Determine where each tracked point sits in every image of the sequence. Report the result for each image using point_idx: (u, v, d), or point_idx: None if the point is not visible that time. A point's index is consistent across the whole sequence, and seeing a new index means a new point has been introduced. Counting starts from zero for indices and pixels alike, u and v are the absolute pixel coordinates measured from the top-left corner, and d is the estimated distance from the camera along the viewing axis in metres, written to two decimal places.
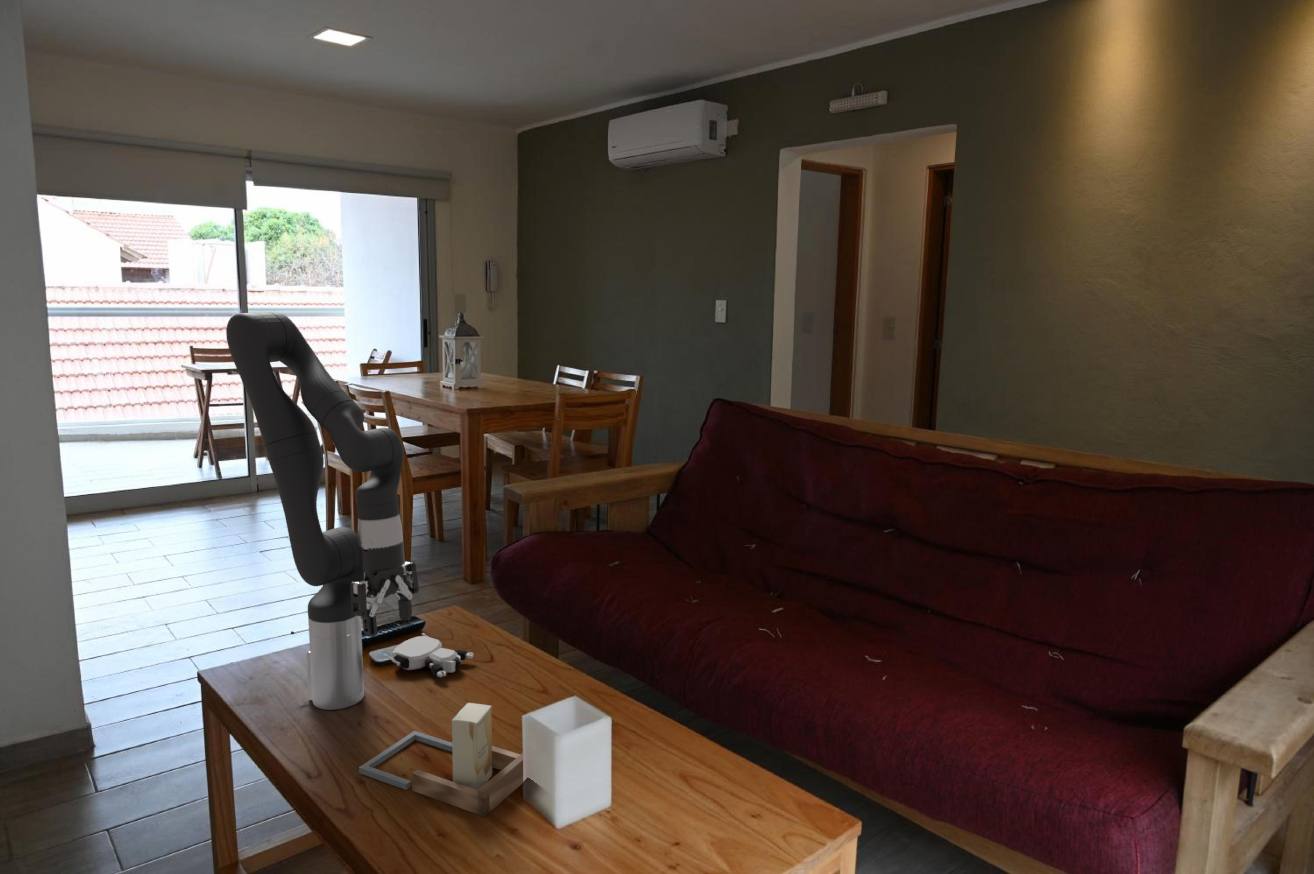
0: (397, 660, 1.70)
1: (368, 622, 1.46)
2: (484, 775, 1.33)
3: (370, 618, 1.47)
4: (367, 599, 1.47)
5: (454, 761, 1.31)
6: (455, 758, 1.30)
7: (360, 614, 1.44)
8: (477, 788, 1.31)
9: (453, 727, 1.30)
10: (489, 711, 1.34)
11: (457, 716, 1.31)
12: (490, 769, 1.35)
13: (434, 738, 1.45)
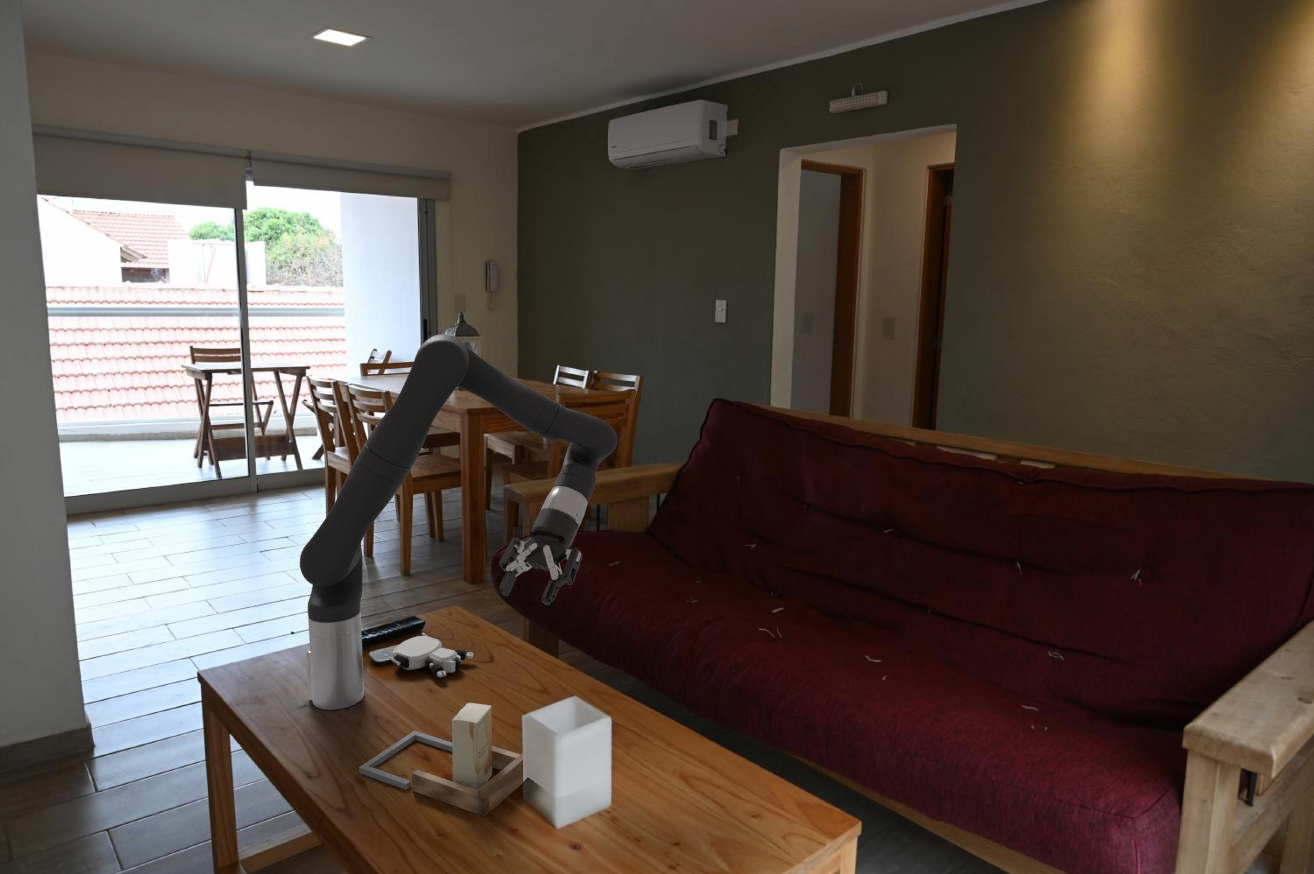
0: (397, 660, 1.70)
1: (557, 590, 1.42)
2: (484, 775, 1.33)
3: None
4: (556, 567, 1.43)
5: (454, 761, 1.31)
6: (455, 758, 1.30)
7: (572, 581, 1.42)
8: (477, 788, 1.31)
9: (453, 727, 1.30)
10: (489, 711, 1.34)
11: (457, 716, 1.31)
12: (490, 769, 1.35)
13: (434, 738, 1.45)
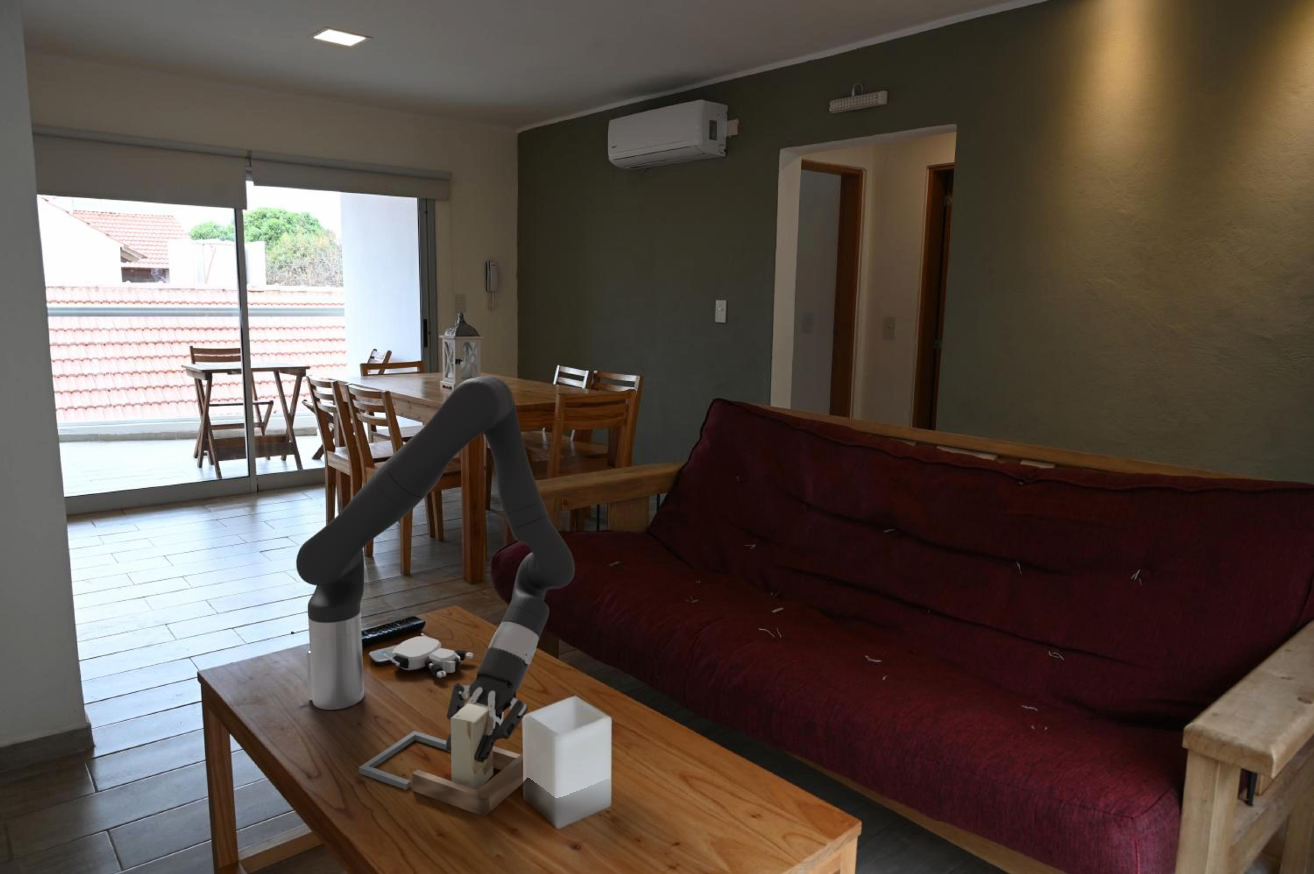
0: (397, 660, 1.70)
1: (492, 745, 1.32)
2: (483, 774, 1.33)
3: None
4: (496, 718, 1.33)
5: (453, 759, 1.31)
6: (453, 756, 1.31)
7: (508, 735, 1.32)
8: (474, 787, 1.31)
9: (452, 725, 1.30)
10: None
11: (456, 714, 1.31)
12: (490, 769, 1.35)
13: (434, 738, 1.45)
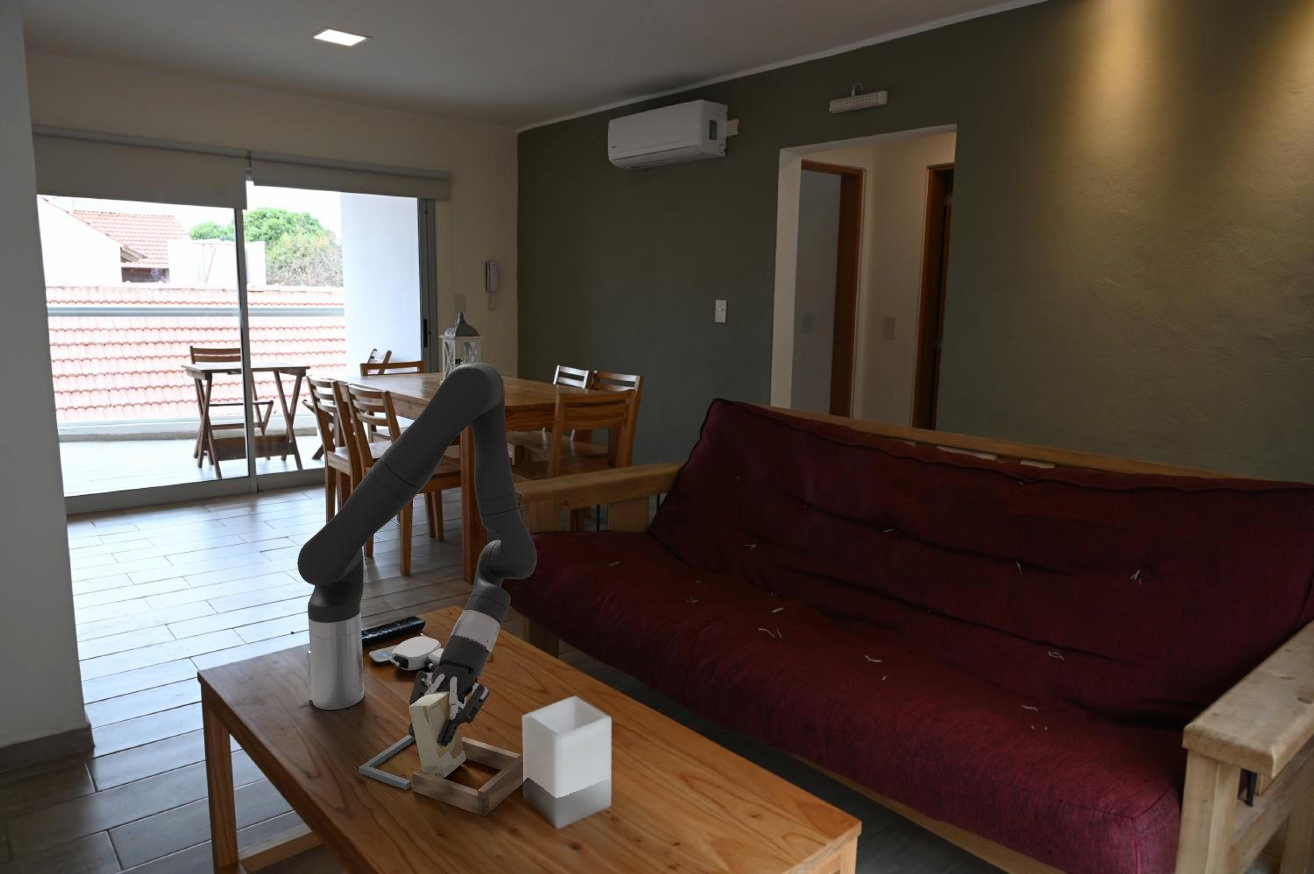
0: (396, 660, 1.70)
1: (456, 729, 1.35)
2: (452, 758, 1.36)
3: None
4: (458, 703, 1.36)
5: (418, 747, 1.34)
6: (419, 744, 1.34)
7: (471, 719, 1.35)
8: (443, 771, 1.33)
9: (411, 713, 1.34)
10: (448, 695, 1.37)
11: (415, 703, 1.35)
12: (461, 754, 1.38)
13: None
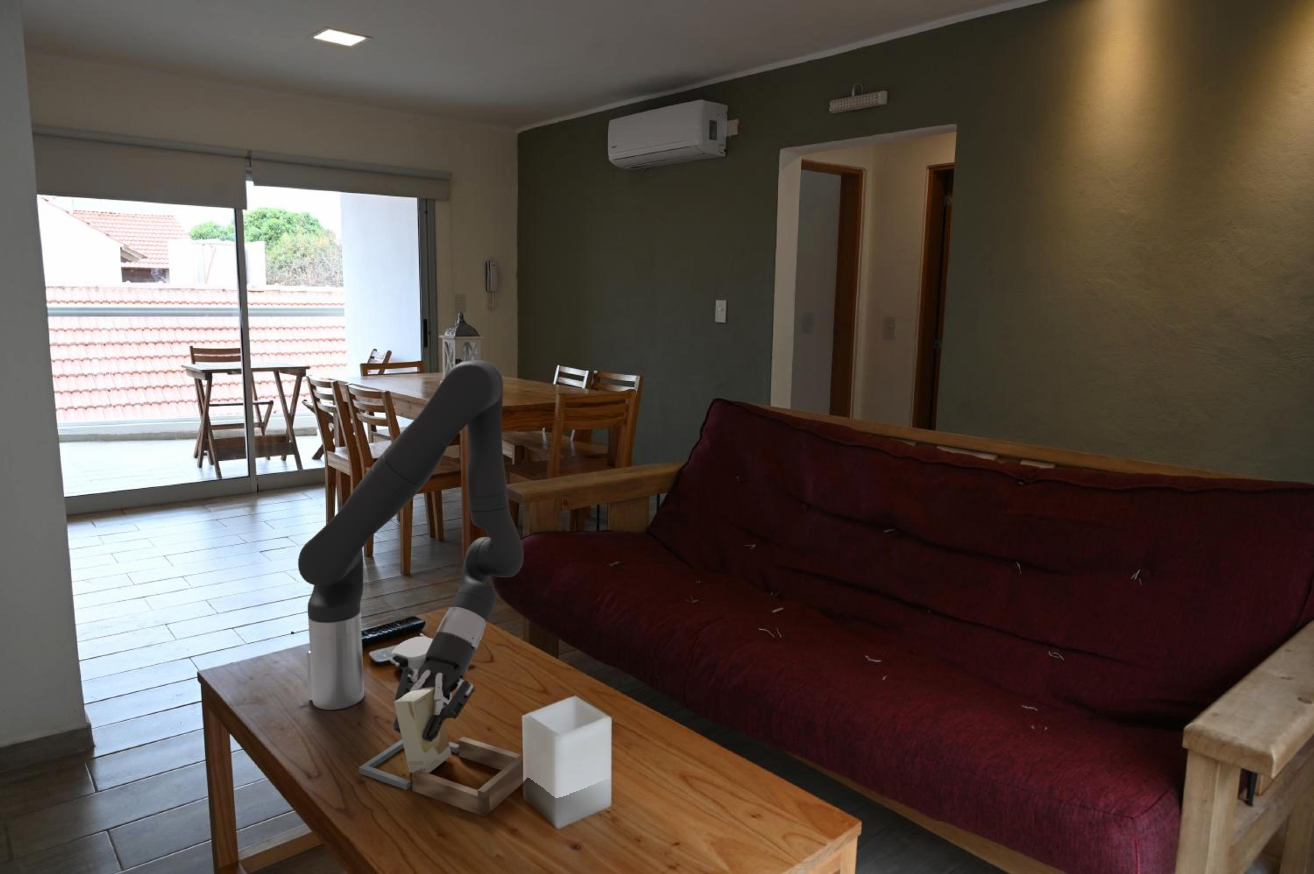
0: (396, 661, 1.70)
1: (441, 725, 1.36)
2: (438, 754, 1.37)
3: None
4: (444, 699, 1.38)
5: (404, 742, 1.36)
6: (404, 739, 1.36)
7: (456, 715, 1.37)
8: (428, 766, 1.35)
9: (396, 709, 1.35)
10: (433, 691, 1.38)
11: (400, 698, 1.36)
12: (446, 749, 1.39)
13: None
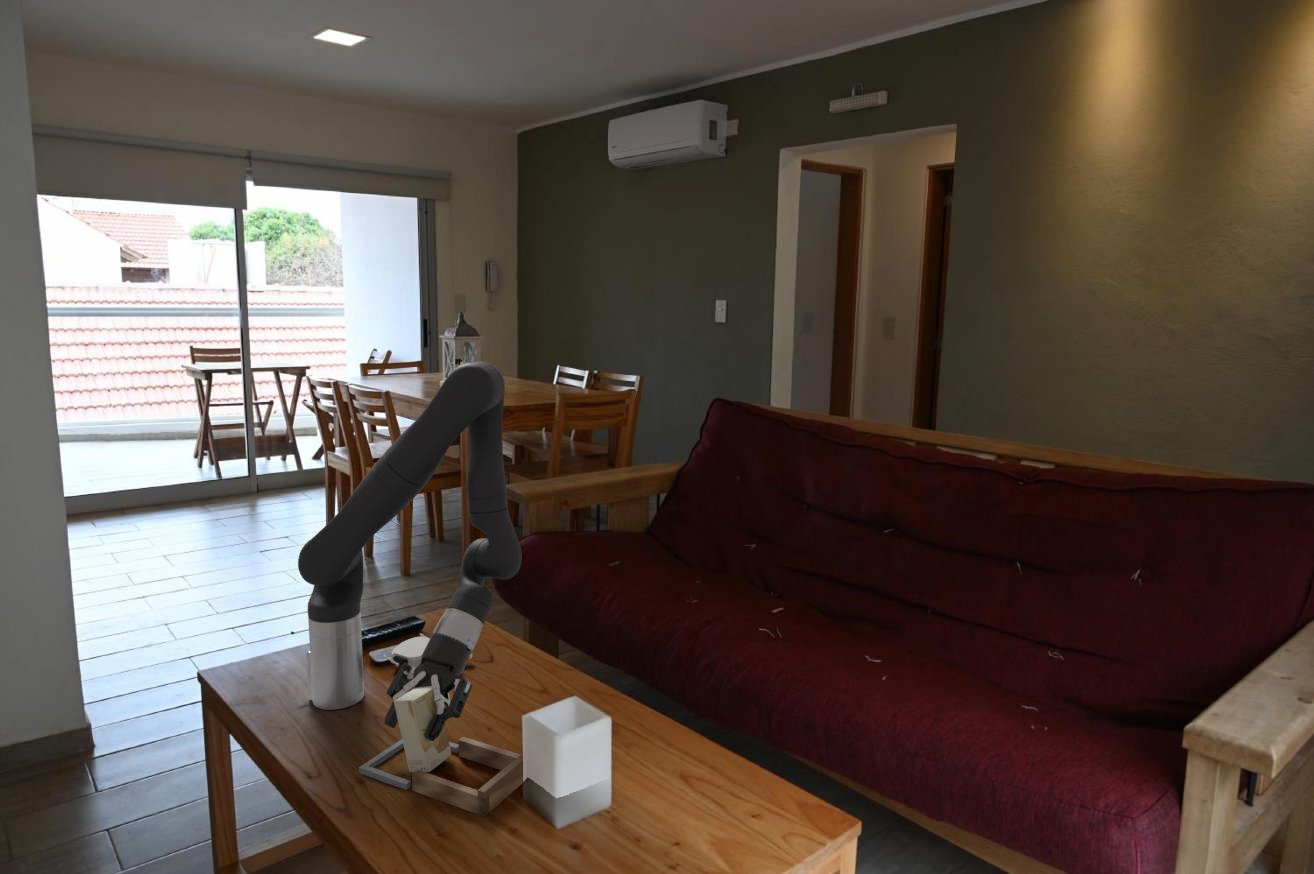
0: (396, 661, 1.70)
1: (443, 724, 1.37)
2: (438, 753, 1.37)
3: None
4: (443, 698, 1.38)
5: (404, 742, 1.36)
6: (404, 738, 1.36)
7: (459, 714, 1.37)
8: (428, 765, 1.35)
9: (396, 708, 1.36)
10: None
11: (400, 698, 1.37)
12: (446, 749, 1.39)
13: None
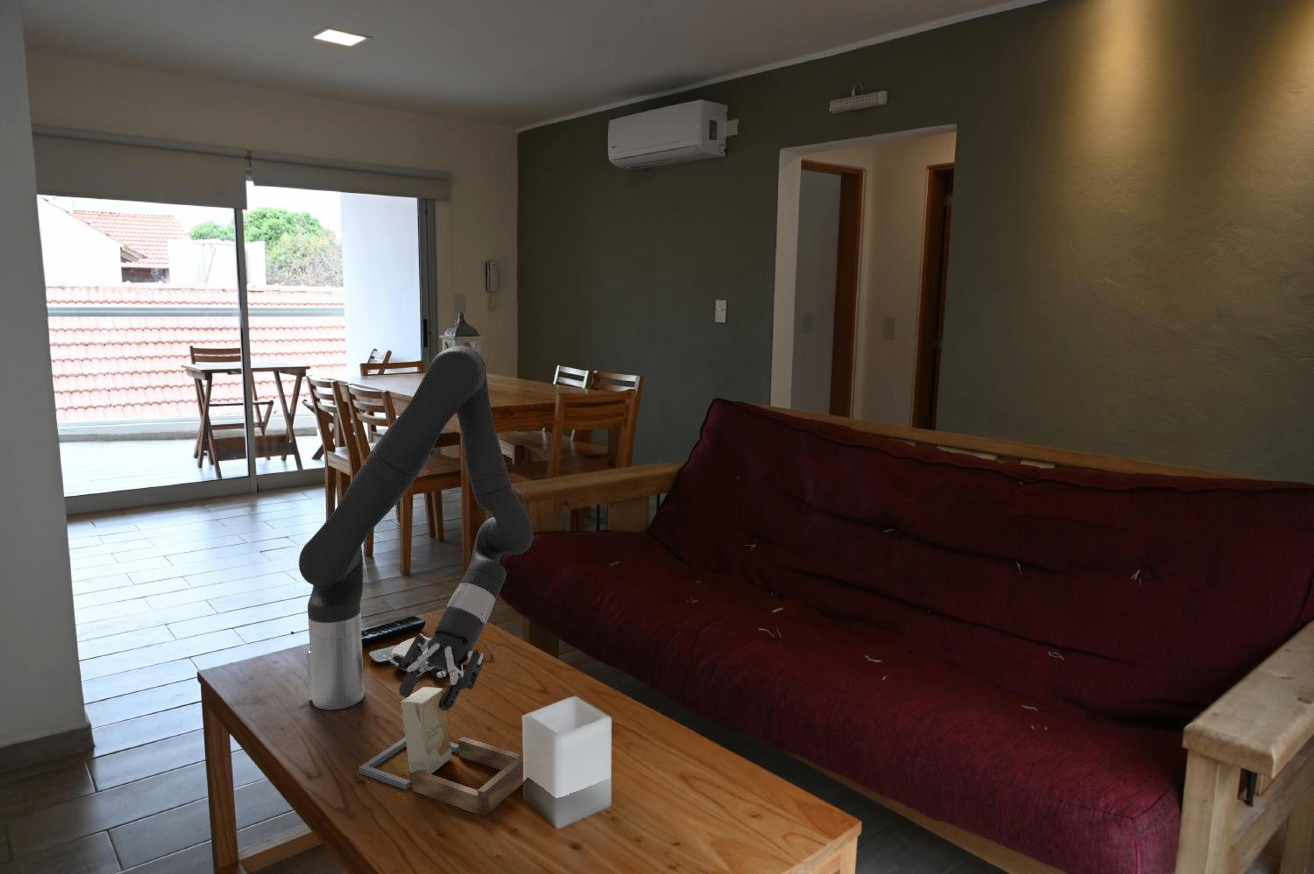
0: (396, 661, 1.70)
1: (457, 694, 1.39)
2: (439, 756, 1.37)
3: None
4: (457, 670, 1.41)
5: (407, 742, 1.36)
6: (407, 739, 1.35)
7: (472, 685, 1.40)
8: (430, 768, 1.35)
9: (402, 709, 1.35)
10: (440, 693, 1.38)
11: (407, 698, 1.36)
12: (448, 751, 1.39)
13: None
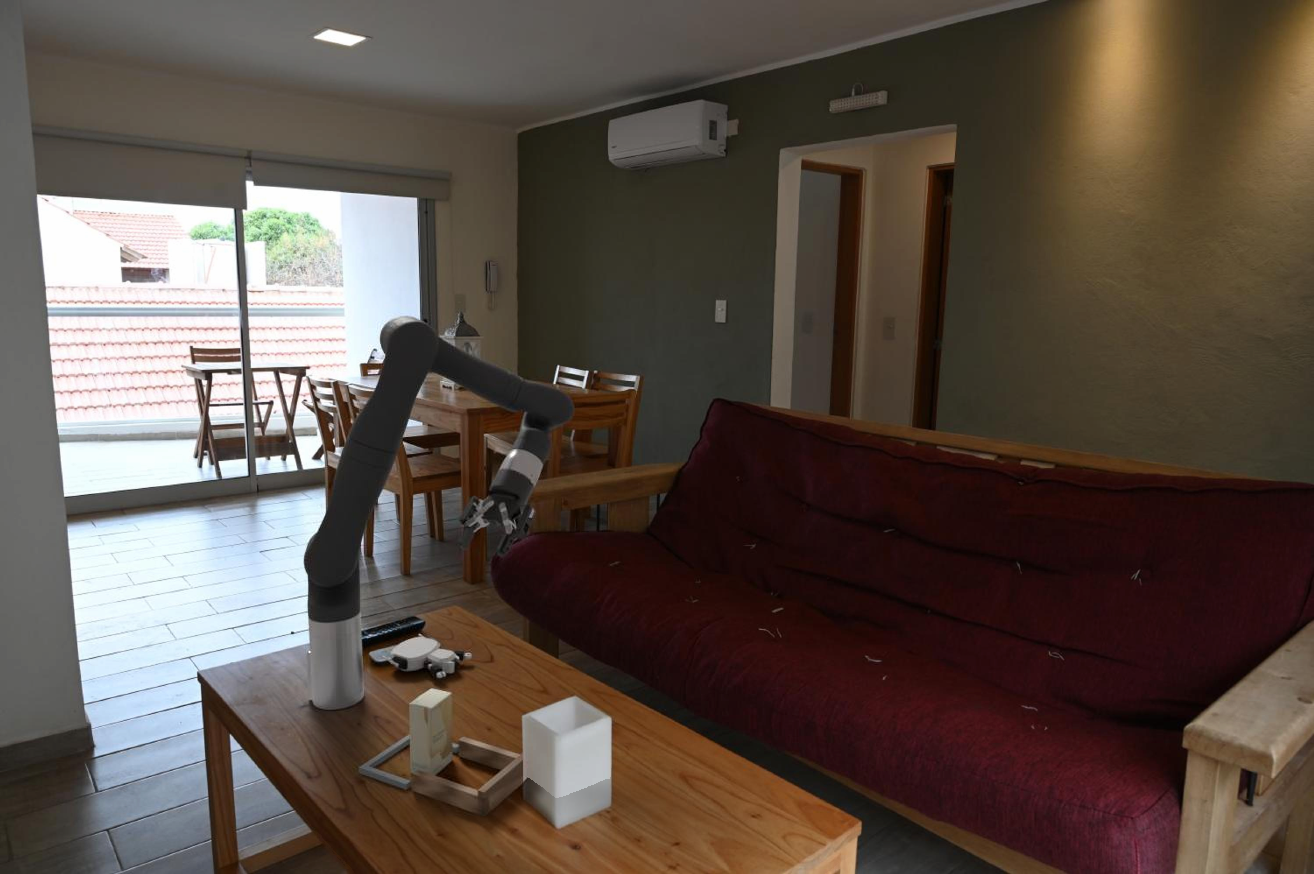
0: (395, 661, 1.69)
1: (511, 543, 1.53)
2: (441, 759, 1.37)
3: None
4: (511, 522, 1.54)
5: (411, 743, 1.35)
6: (412, 741, 1.35)
7: (525, 535, 1.53)
8: (431, 771, 1.35)
9: (410, 710, 1.35)
10: (448, 698, 1.38)
11: (415, 700, 1.35)
12: (449, 755, 1.39)
13: None
